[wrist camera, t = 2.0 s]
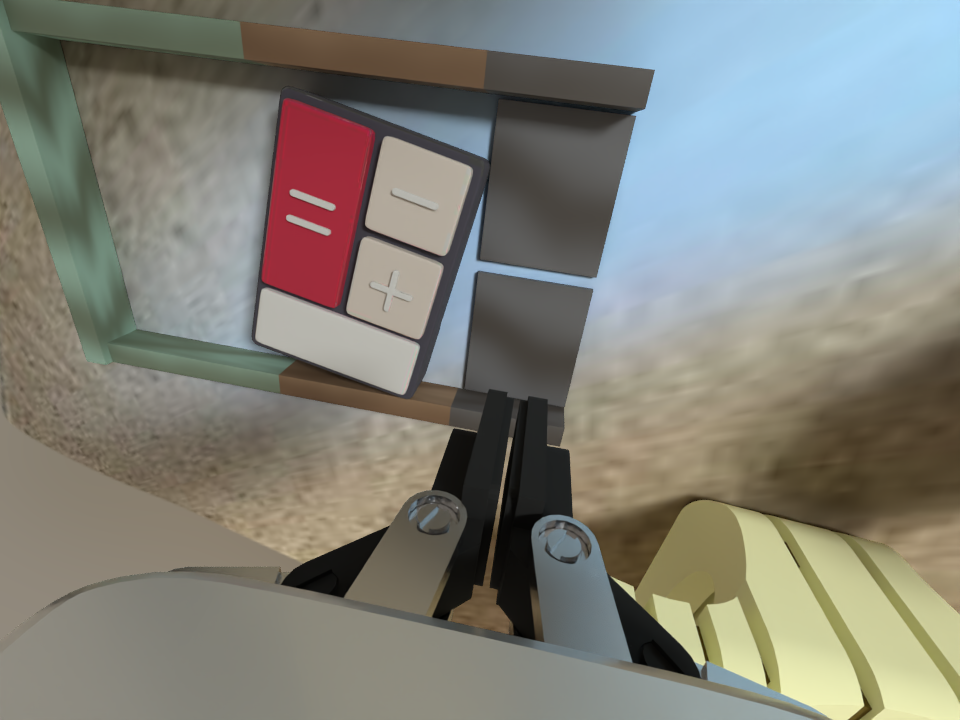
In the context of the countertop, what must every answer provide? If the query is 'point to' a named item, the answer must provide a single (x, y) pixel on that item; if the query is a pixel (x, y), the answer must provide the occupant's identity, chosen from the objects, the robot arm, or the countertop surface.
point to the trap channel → (519, 125)
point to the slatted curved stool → (806, 614)
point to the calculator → (361, 241)
